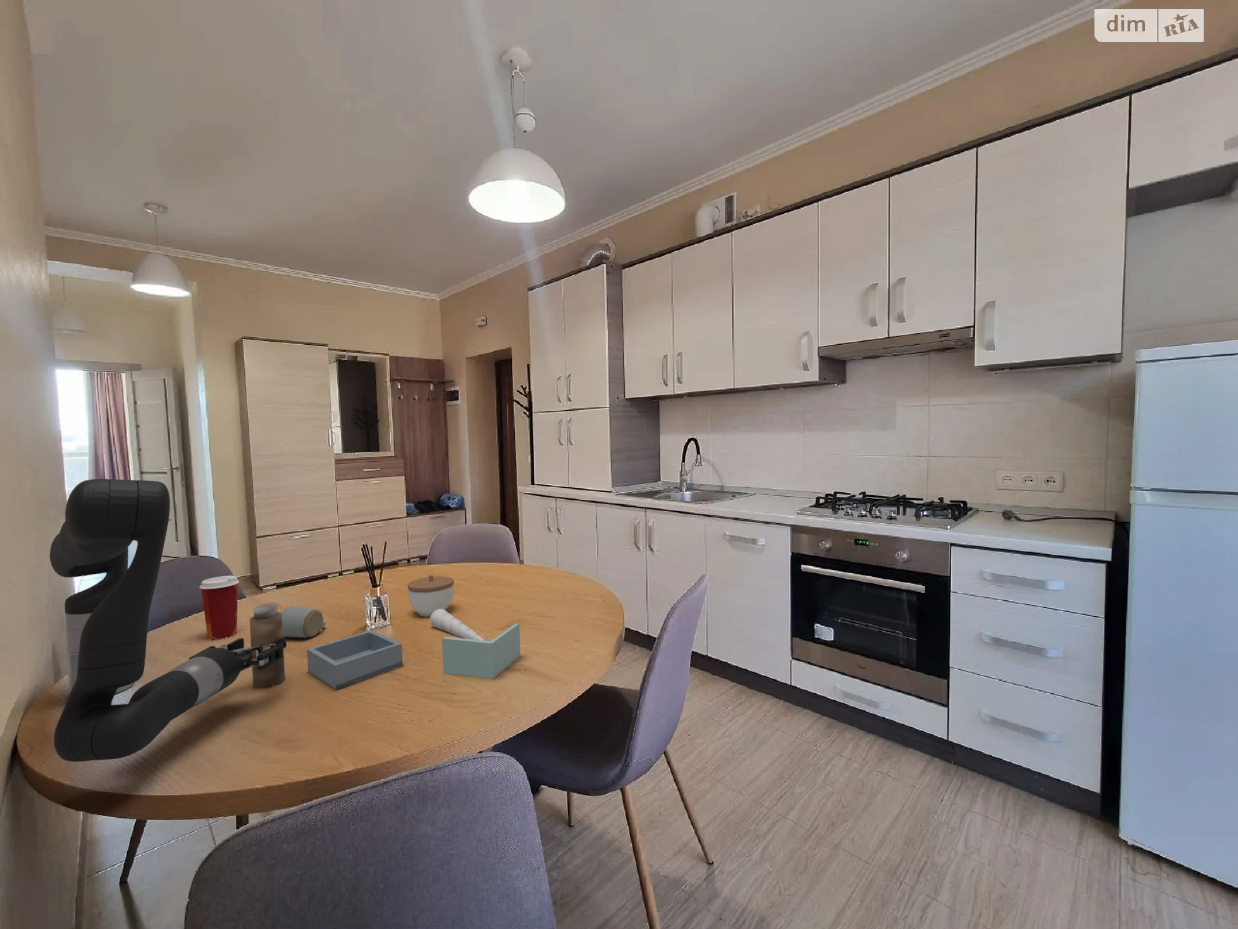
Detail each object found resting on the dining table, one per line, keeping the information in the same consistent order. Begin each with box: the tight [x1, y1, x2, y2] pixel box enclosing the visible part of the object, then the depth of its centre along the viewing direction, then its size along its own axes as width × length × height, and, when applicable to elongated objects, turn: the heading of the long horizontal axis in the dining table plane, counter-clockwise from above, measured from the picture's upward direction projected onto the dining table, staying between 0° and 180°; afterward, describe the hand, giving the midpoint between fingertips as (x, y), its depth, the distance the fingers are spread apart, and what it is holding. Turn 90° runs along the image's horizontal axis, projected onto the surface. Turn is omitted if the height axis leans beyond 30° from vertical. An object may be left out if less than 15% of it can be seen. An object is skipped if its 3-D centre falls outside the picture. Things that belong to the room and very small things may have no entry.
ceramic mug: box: [280, 605, 326, 639], centre depth 135 cm, size 11×8×8 cm
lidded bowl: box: [407, 574, 454, 618], centre depth 150 cm, size 13×13×11 cm
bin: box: [306, 629, 404, 691], centre depth 113 cm, size 14×14×5 cm
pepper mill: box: [249, 603, 286, 689], centre depth 107 cm, size 6×6×16 cm
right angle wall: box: [441, 622, 521, 680], centre depth 114 cm, size 12×12×8 cm
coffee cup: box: [199, 575, 240, 640], centre depth 135 cm, size 8×8×15 cm
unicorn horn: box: [429, 609, 485, 641], centre depth 131 cm, size 5×24×5 cm, turn 46°
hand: (263, 642), depth 105 cm, fingers open, 8 cm apart
